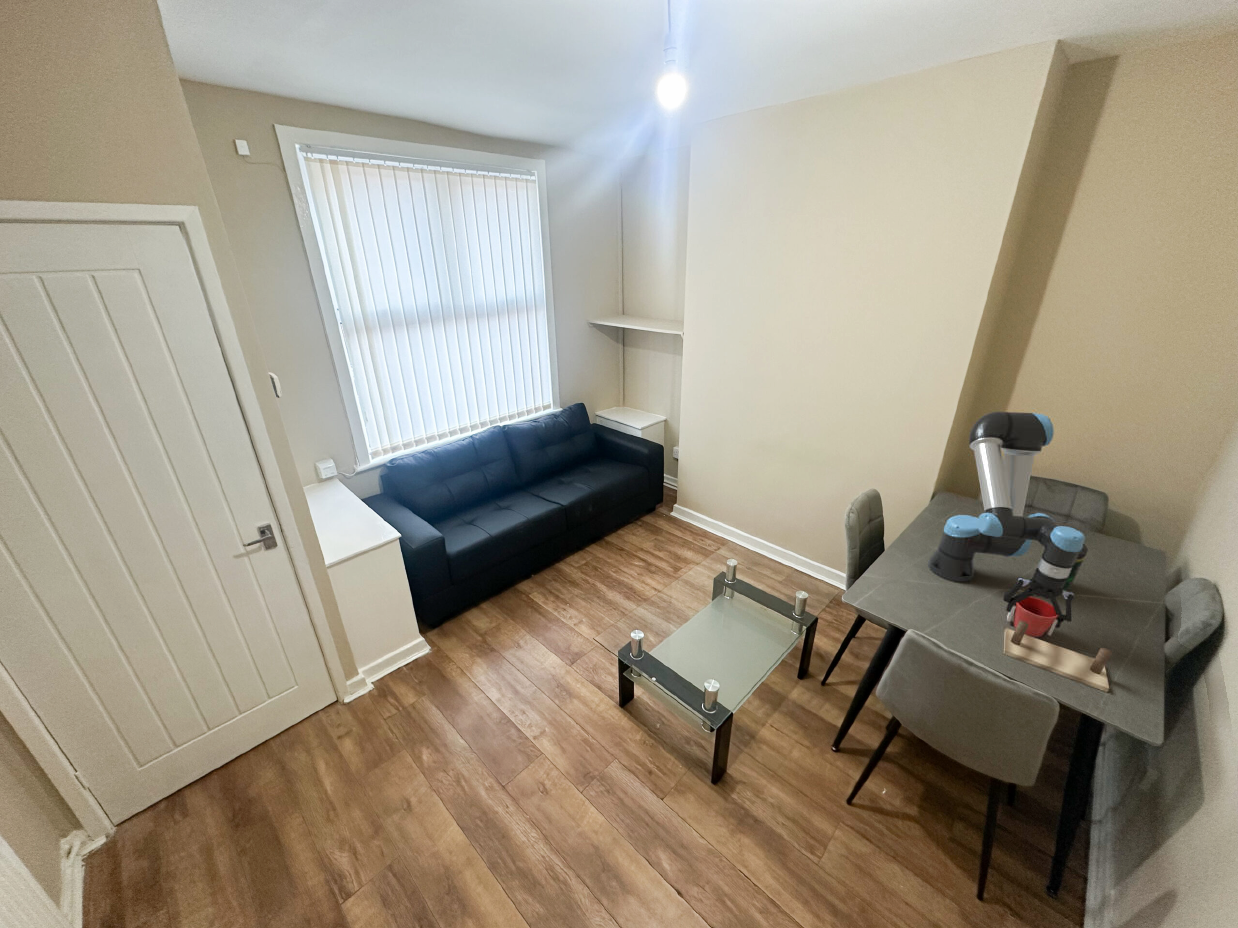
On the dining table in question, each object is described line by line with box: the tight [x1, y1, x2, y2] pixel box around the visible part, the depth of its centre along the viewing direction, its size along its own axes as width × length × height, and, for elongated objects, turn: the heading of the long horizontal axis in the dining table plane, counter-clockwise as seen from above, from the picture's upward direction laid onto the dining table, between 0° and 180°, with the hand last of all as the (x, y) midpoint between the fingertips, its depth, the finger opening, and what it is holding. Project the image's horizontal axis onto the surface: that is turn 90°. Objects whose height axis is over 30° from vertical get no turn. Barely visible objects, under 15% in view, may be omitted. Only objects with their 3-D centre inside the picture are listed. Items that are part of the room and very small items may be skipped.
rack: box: [1003, 621, 1113, 693], centre depth 145 cm, size 24×12×10 cm, turn 52°
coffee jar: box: [1063, 543, 1089, 591], centre depth 175 cm, size 10×8×19 cm
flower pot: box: [1013, 596, 1058, 638], centre depth 157 cm, size 11×11×10 cm
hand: (1028, 625), depth 159 cm, fingers closed on flower pot, 10 cm apart
